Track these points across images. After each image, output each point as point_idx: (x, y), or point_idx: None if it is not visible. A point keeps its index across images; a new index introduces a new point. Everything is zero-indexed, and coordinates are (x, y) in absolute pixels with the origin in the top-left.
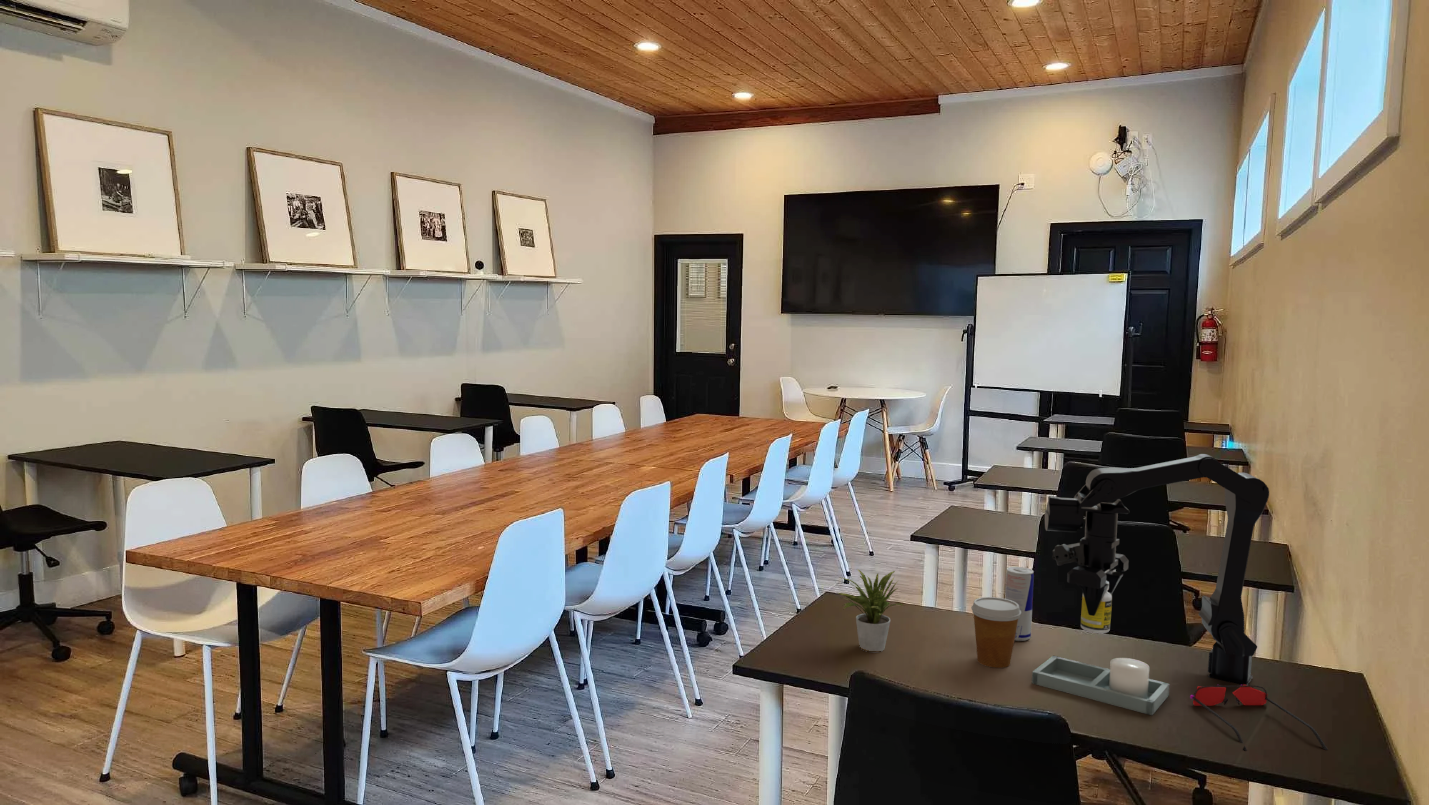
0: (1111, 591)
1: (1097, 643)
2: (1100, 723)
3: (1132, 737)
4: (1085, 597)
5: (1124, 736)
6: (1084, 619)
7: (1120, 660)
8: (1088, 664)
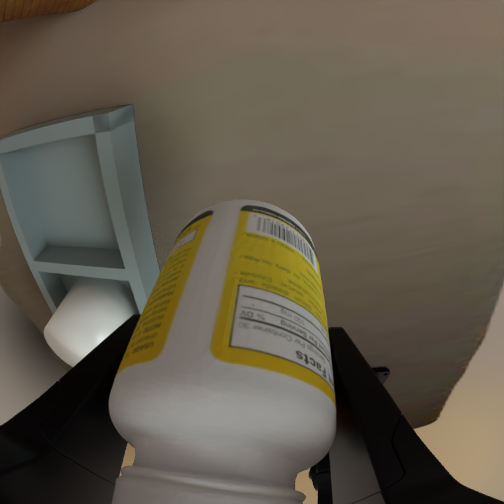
0: (332, 470)
1: (472, 155)
2: (17, 274)
3: (27, 310)
4: (51, 394)
5: (20, 302)
6: (166, 261)
7: (77, 339)
8: (124, 226)
